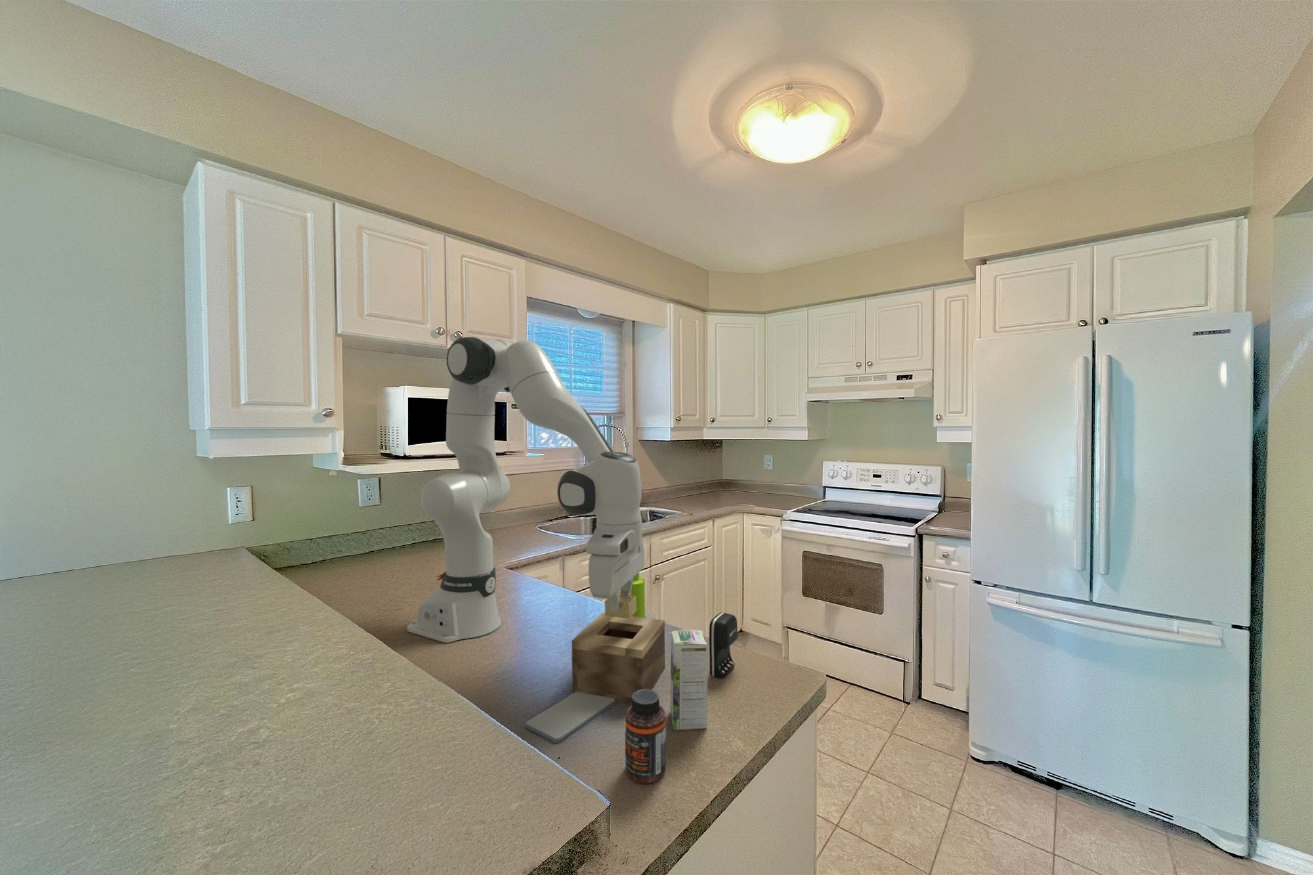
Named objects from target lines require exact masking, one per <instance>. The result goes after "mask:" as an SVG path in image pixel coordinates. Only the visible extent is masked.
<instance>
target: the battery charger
mask: <svg viewBox="0 0 1313 875" xmlns="http://www.w3.org/2000/svg"><path fill="white" fill-rule="evenodd" d="M708 627H709V628H708V629H709V633H708V634H709V637H708V639H709V640H708V643H709V644H708V646H709V647H708V648H709V649H708V650H709V652H708V653H709V675H710V677H713V678H718V679H724V678H726V677H727V676H728V675H729V674H730V673H731V671H732V670H733V669H734V668H735V662H734V660H733V658H732V656H731V648H730V647H731V645H732V644H734V643H735V642H736V641H737V639H738V637H739V634H738V632H739V631H738V620H737V617H736V615H734V614H731V613H727V612H719V613H717V614H716V615H715V616H714V617H713V618H712V619H711V620H710V623H709V626H708Z"/></svg>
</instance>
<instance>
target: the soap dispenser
mask: <svg viewBox="0 0 1313 875" xmlns="http://www.w3.org/2000/svg"><path fill="white" fill-rule="evenodd" d="M645 584H646V582H645V579H644V578H643V577H641V576H640V572H639V573H638V574H636V575H635V576H634V577H633V584H632V589H631V596H636V612H635V613H634V614H633V615H632V617H640V618H646V599H645V597H646V594H645V591H646V588H645V586H646V585H645ZM621 590H622V588H620V589H619V593H620V592H621Z"/></svg>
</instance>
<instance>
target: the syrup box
mask: <svg viewBox="0 0 1313 875" xmlns="http://www.w3.org/2000/svg"><path fill="white" fill-rule="evenodd" d="M670 637H671V638H670V642H671V643H670V646H671V647H670V718H671V724H672V728H673V730H674V731H685V730H686V731H687V730H701V729H708V673H709V672H708V671H709V670H708V661H709V657H708V653H709V652H708V650H709V649H708V648H709V647H708V646H709V644H708V642H707V639H706V637H705V634H704V632H703V631H702V630H696V629H695V630H694V629H681V630H680V629H679V630H674V631H671V635H670Z"/></svg>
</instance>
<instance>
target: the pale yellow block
mask: <svg viewBox="0 0 1313 875" xmlns="http://www.w3.org/2000/svg"><path fill="white" fill-rule="evenodd" d="M618 597H619V600H621V608H620V609H619V611H617V612H612V611H610V606H609V600H608V598H605V600H604V613H605V616H610V617H619V618H628V619H630V617H631V616H632V615H633V614H634V613H635V612H636V596H630V595H620V593H619V594H618Z"/></svg>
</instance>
